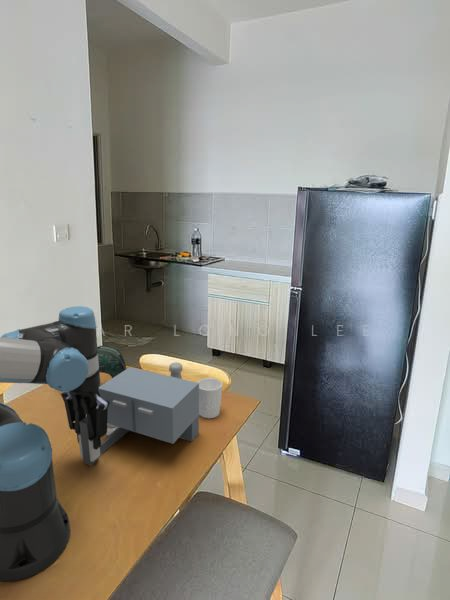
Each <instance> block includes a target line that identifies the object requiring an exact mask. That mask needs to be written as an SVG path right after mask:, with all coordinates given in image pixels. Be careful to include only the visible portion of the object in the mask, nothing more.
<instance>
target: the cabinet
mask: <svg viewBox="0 0 450 600" xmlns="http://www.w3.org/2000/svg"><path fill="white" fill-rule="evenodd" d="M98 390H99V393H100V398H102V399H103V400H104V401H106V400H109V402H110V404H109V407H108V415H107V425H108V424H111V425H114V426H117V427H120V428H124V429H127V430H130V431H131V432H133V433H136V434H140V435H144V436H147V437H149V438H153V439H157V440H159V441H163V442H165V443H170V444H175V443H176V442H177V440H178V439H183V440H186V441H188V442H189V441H190V442H193V441H194V440H195V439H197V436H199V433H200V423H199V422H200V420H199V419H200V415H199V383H197V382H196V381H192V380H187V379H183V378H182V379H179V378H175V377H171V376H170V375H166V374H162V373H157V372H154V371H149V370H145V369H140V368H137V367H133V366H130V367H127V368H126V370H124V371H123V372H121V373H120V374H118V375H117V376H115V377H114V378H112V377H111V379H109V380H107V381H105V382H104V383H103V384H102V385H101V384H100V386H99V389H98ZM130 431H129V432H130Z"/></svg>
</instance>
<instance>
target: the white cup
mask: <svg viewBox="0 0 450 600" xmlns="http://www.w3.org/2000/svg"><path fill="white" fill-rule="evenodd" d="M196 383H199V417H201V418H204V419H214V418H217V417H218V416H219V415H220V413H221V406H222V405H221V404H222V393H223V382H222V381H221V380H220V379H218V378H214V377H205V378H201V379H199V380H198V381H197V382H196Z"/></svg>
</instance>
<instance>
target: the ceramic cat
mask: <svg viewBox="0 0 450 600" xmlns="http://www.w3.org/2000/svg"><path fill="white" fill-rule="evenodd" d="M97 350H98V362H99V369H98V370H99V372H100V373H101V374H103V373H104V374H107V375H109V376H110V377H111V379H112V378H114V377H115V376H117V375H118V374H120V373H121V372H123V371H124V370H126V369H127V366H126V361H125V360H124V356H123V354H122V353H121V351H120V349H118V348H117V347H116V346H112V345H106V344H105V345H104V344H103V345H99V346H97Z"/></svg>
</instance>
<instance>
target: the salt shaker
mask: <svg viewBox="0 0 450 600" xmlns="http://www.w3.org/2000/svg"><path fill="white" fill-rule="evenodd" d="M168 371H169V372H170V375H169V376H171V377H175V378H179V379H183V378H182V372H183V365H182V363H180V362H176V361H175V362H171V363H170V364H169V367H168Z"/></svg>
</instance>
